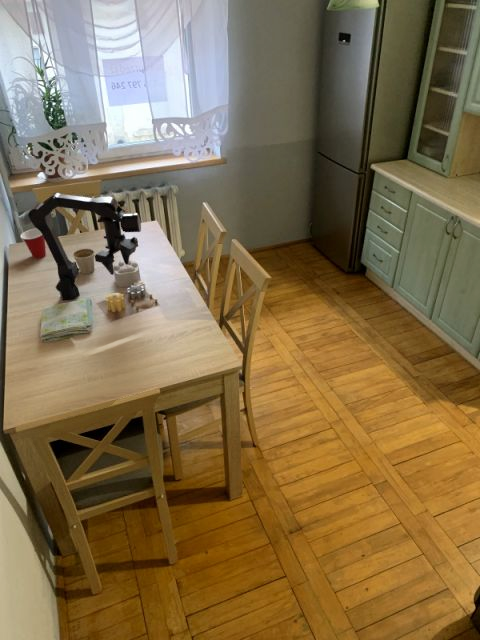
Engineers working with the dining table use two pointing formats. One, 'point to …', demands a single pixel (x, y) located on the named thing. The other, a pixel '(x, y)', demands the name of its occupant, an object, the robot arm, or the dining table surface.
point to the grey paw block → (126, 273)
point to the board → (129, 306)
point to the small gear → (139, 283)
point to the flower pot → (85, 260)
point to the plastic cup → (35, 242)
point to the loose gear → (115, 302)
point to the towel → (66, 320)
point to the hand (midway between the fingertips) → (119, 269)
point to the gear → (136, 292)
